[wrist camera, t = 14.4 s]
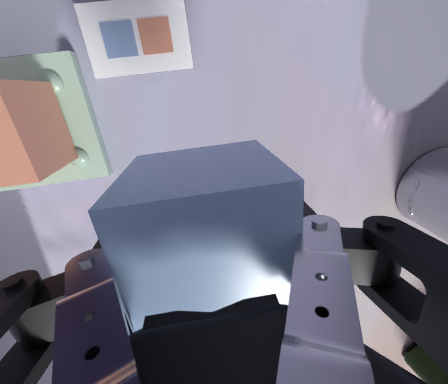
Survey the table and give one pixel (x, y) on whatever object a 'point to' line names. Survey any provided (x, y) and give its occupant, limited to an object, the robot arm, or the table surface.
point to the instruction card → (135, 36)
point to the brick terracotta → (31, 133)
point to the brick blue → (201, 228)
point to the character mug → (425, 366)
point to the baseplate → (64, 111)
